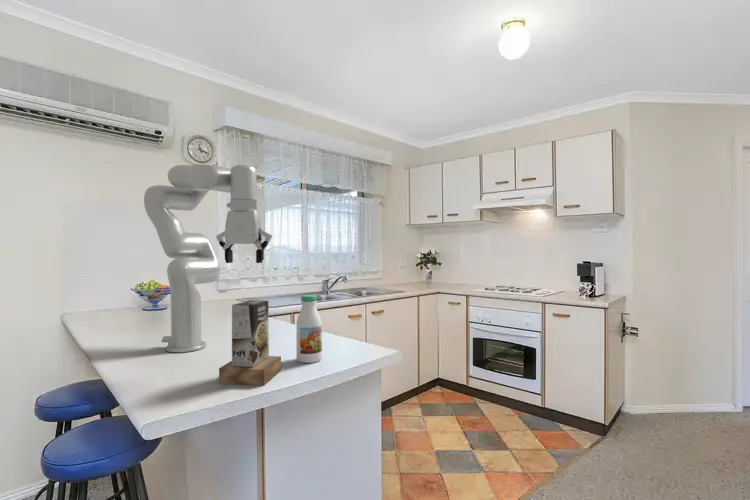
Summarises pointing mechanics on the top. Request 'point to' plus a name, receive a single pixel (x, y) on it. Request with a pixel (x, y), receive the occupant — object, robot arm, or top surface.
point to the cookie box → (250, 333)
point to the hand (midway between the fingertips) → (244, 262)
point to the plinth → (250, 372)
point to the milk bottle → (309, 331)
